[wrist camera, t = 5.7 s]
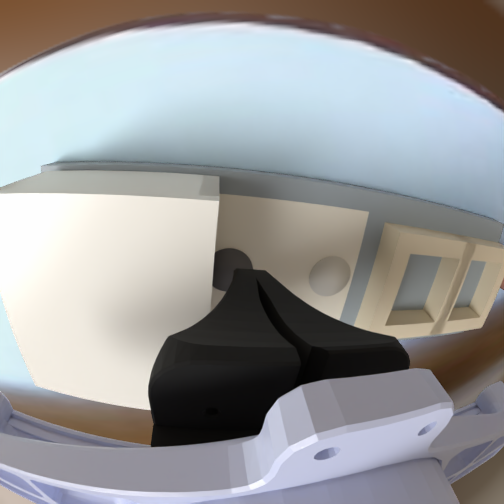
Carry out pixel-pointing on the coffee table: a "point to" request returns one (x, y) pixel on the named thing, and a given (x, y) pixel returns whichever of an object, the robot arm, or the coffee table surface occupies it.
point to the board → (350, 249)
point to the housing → (105, 274)
